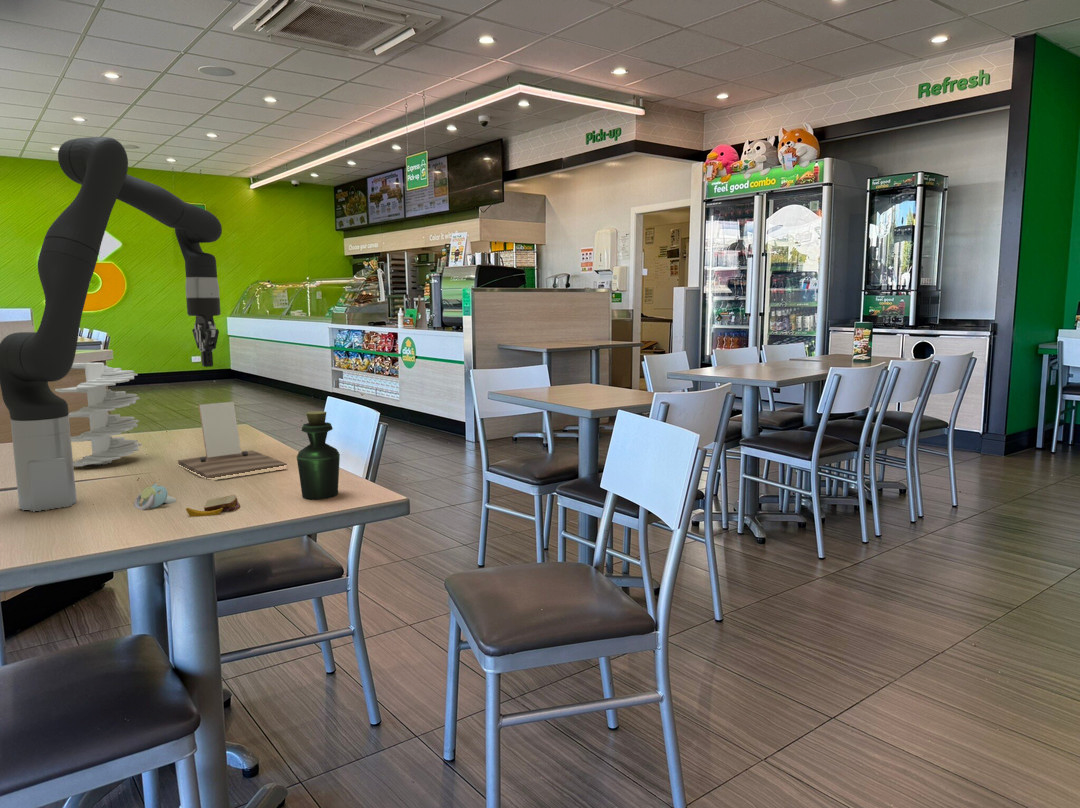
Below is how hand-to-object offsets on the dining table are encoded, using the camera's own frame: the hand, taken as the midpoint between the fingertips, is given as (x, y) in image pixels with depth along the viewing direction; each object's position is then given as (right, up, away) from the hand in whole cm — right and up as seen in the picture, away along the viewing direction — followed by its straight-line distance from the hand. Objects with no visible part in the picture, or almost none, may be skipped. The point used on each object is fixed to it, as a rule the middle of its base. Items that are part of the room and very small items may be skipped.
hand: (207, 366), depth 184 cm
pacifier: (+8, -31, -44) cm, 54 cm away
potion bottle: (+39, -29, -38) cm, 62 cm away
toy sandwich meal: (+22, -31, -47) cm, 61 cm away
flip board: (+9, -25, -6) cm, 27 cm away
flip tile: (+4, -16, -2) cm, 16 cm away
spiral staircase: (-26, -24, 0) cm, 36 cm away
